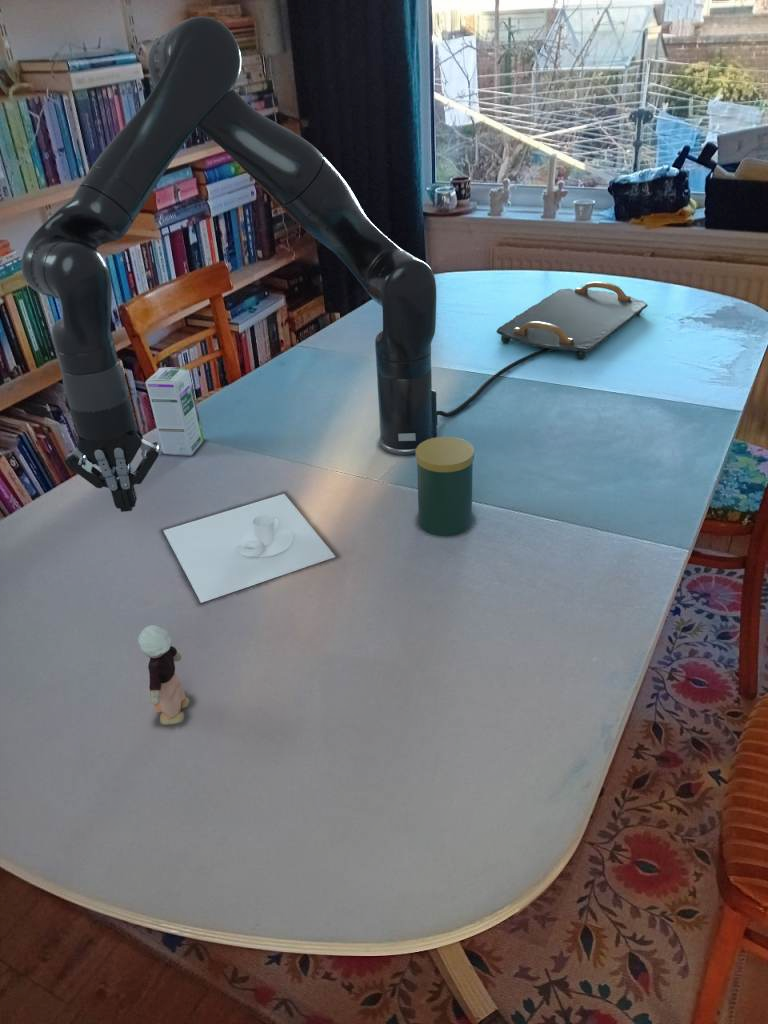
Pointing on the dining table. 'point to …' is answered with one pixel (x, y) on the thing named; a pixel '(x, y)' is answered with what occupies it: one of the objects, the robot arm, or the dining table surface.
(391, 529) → the dining table surface
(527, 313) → the serving tray
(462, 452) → the tea tin
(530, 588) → the dining table surface
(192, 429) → the syrup box
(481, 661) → the dining table surface
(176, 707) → the grandmother figurine
